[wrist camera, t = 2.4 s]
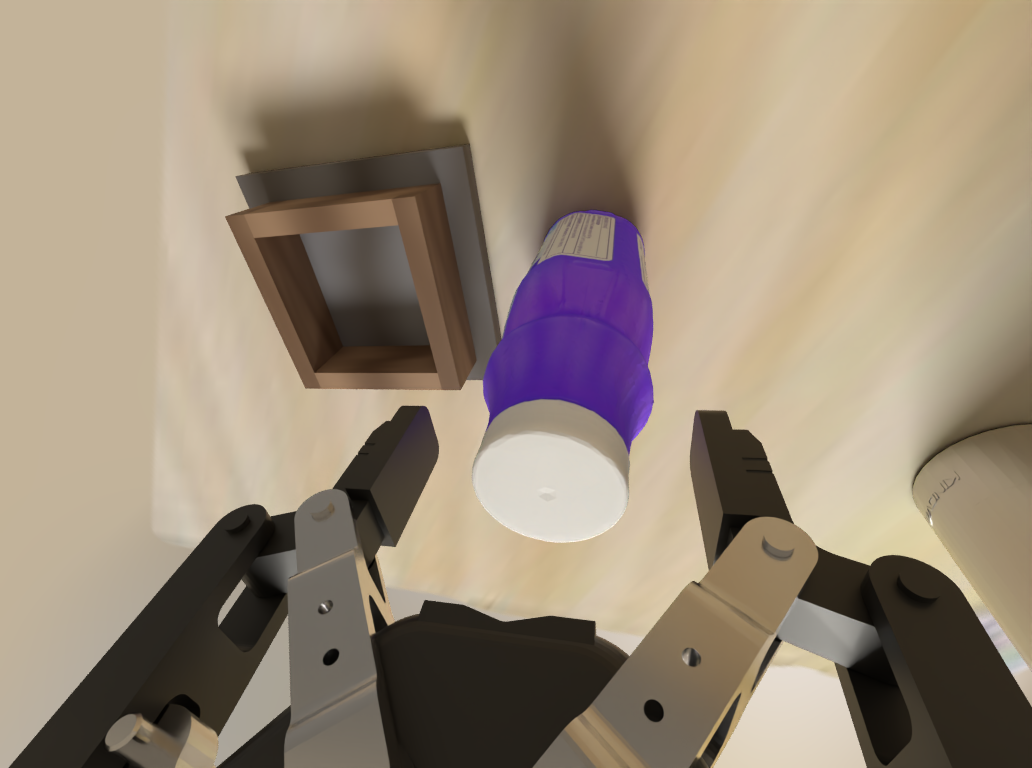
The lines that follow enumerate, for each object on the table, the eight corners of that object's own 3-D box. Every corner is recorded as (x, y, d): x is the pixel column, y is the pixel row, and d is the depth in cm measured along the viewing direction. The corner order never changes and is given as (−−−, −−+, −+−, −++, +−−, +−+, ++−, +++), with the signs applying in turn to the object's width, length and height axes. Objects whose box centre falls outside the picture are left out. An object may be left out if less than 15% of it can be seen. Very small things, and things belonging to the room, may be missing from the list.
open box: (469, 144, 23) (438, 155, 19) (506, 370, 30) (489, 411, 26) (250, 173, 26) (186, 187, 22) (332, 370, 34) (295, 406, 30)
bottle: (550, 194, 23) (435, 355, 9) (657, 209, 23) (709, 408, 9) (534, 316, 27) (439, 555, 13) (624, 331, 27) (623, 600, 13)
